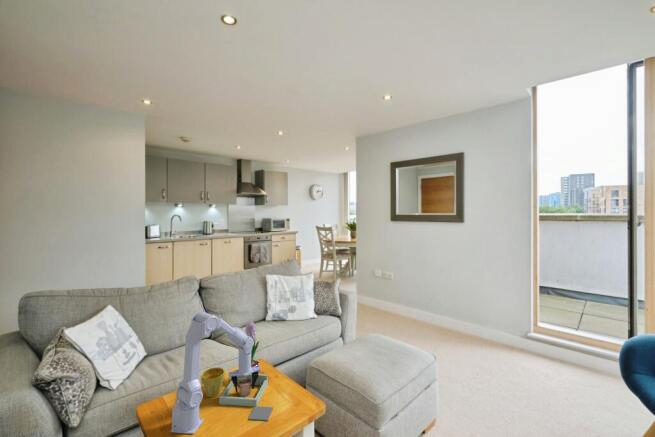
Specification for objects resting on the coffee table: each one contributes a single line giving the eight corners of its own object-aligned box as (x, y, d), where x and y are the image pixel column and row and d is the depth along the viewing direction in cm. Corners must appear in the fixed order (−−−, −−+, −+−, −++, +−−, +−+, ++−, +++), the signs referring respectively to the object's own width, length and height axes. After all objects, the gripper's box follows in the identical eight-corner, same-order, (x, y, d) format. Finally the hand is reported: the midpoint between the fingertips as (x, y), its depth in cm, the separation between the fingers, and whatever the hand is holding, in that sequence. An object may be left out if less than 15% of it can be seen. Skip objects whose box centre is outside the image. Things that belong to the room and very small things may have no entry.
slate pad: (248, 419, 122) (248, 418, 122) (255, 407, 130) (255, 406, 130) (267, 421, 121) (267, 419, 121) (272, 408, 129) (272, 407, 129)
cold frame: (219, 404, 132) (219, 393, 132) (234, 382, 149) (234, 372, 149) (256, 406, 130) (256, 395, 130) (267, 384, 147) (267, 374, 147)
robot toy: (196, 398, 137) (196, 393, 137) (185, 416, 125) (185, 410, 125) (180, 398, 137) (180, 393, 137) (167, 416, 125) (167, 410, 125)
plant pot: (219, 400, 135) (219, 378, 134) (197, 399, 135) (197, 378, 135) (228, 387, 145) (228, 367, 145) (207, 386, 145) (207, 366, 145)
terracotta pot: (236, 397, 137) (236, 384, 137) (241, 389, 143) (241, 377, 143) (248, 398, 136) (248, 385, 136) (252, 390, 142) (252, 378, 142)
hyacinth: (262, 371, 159) (263, 316, 159) (256, 382, 149) (256, 323, 149) (247, 370, 160) (247, 315, 160) (239, 381, 150) (239, 322, 150)
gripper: (229, 368, 133) (229, 398, 133) (262, 362, 139) (261, 390, 139) (228, 361, 139) (228, 389, 139) (259, 355, 145) (259, 383, 145)
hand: (244, 389), depth 139 cm, fingers open, 7 cm apart
